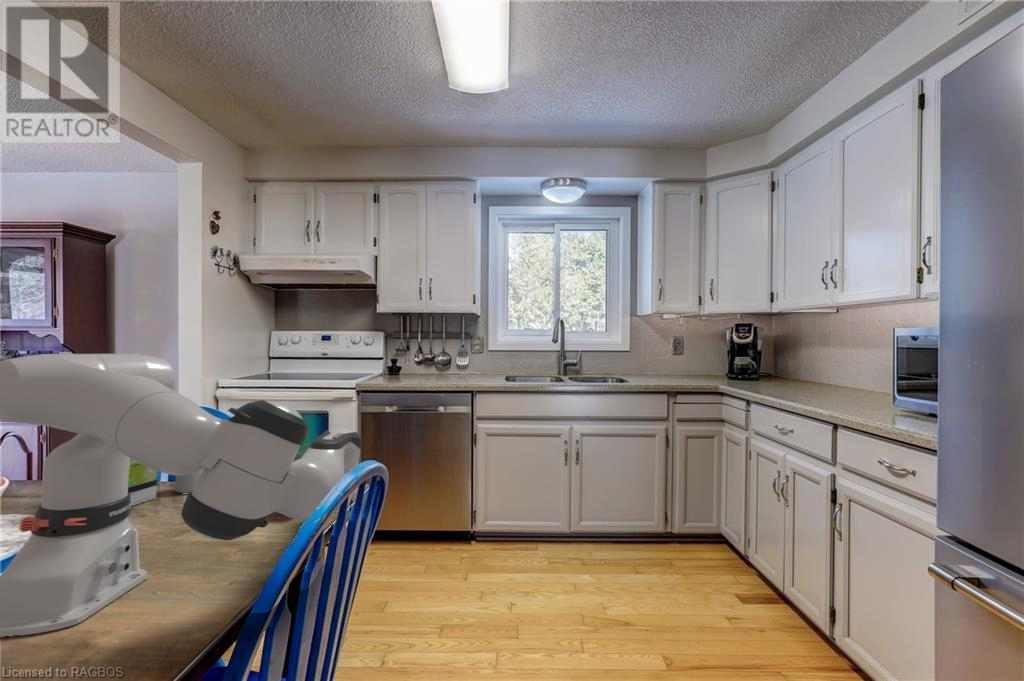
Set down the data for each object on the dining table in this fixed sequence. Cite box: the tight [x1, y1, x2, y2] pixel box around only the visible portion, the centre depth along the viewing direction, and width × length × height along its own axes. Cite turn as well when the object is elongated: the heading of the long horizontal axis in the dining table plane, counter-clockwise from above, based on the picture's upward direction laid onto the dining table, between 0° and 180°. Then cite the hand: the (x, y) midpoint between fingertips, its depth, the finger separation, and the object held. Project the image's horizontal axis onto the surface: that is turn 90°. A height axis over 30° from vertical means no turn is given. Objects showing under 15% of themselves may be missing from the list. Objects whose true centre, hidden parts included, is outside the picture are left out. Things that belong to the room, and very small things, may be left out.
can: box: [174, 468, 204, 494], centre depth 134 cm, size 8×8×12 cm
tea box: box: [128, 459, 159, 507], centre depth 120 cm, size 15×10×15 cm, turn 171°
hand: (269, 478), depth 125 cm, fingers closed
